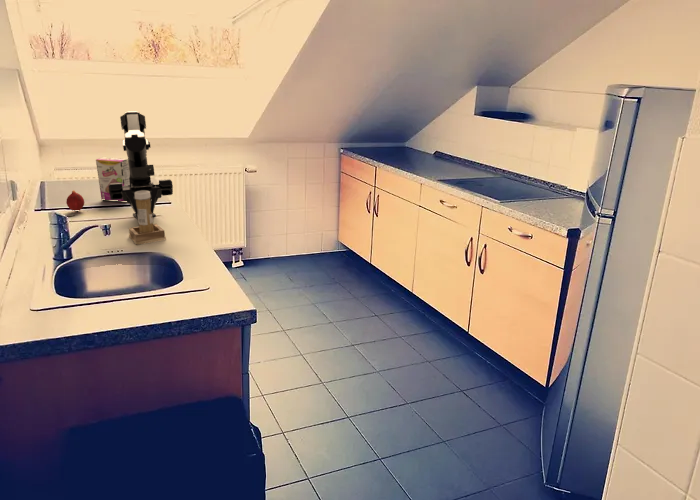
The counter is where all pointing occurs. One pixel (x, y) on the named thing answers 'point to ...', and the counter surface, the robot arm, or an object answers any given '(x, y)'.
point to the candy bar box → (112, 174)
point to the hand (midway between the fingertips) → (144, 212)
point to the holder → (147, 235)
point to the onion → (75, 201)
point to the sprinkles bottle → (144, 211)
